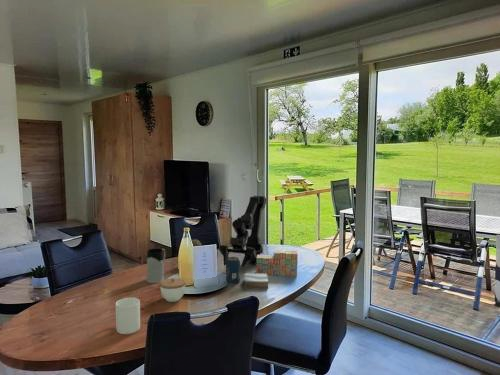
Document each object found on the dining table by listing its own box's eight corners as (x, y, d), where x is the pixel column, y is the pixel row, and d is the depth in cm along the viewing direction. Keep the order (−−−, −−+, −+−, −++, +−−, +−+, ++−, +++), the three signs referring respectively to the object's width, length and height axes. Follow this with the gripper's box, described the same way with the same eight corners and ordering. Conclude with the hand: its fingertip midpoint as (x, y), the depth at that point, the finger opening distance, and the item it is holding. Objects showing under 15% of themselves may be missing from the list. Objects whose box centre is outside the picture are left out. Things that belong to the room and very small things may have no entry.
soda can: (224, 280, 185) (224, 256, 184) (238, 279, 187) (238, 256, 186) (227, 285, 179) (227, 261, 177) (241, 284, 180) (241, 260, 179)
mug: (106, 326, 136) (105, 299, 135) (127, 318, 143) (126, 293, 142) (124, 337, 129) (123, 309, 128) (144, 329, 135) (144, 301, 134)
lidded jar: (182, 293, 169) (182, 273, 168) (187, 302, 159) (187, 280, 158) (158, 296, 165) (158, 275, 164) (162, 305, 155) (161, 284, 154)
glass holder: (143, 281, 182) (142, 252, 181) (157, 272, 196) (157, 244, 194) (159, 283, 180) (158, 253, 178) (172, 274, 193) (172, 246, 192)
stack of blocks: (255, 275, 194) (256, 252, 192) (256, 271, 200) (257, 249, 199) (297, 276, 192) (297, 253, 190) (296, 272, 198) (297, 250, 197)
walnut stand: (244, 280, 186) (244, 273, 185) (266, 280, 186) (266, 273, 186) (244, 288, 175) (244, 281, 175) (268, 288, 175) (268, 281, 175)
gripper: (220, 229, 188) (210, 256, 179) (254, 232, 182) (247, 260, 173) (225, 240, 197) (217, 267, 187) (259, 244, 191) (252, 271, 181)
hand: (233, 266), depth 182 cm, fingers open, 9 cm apart
